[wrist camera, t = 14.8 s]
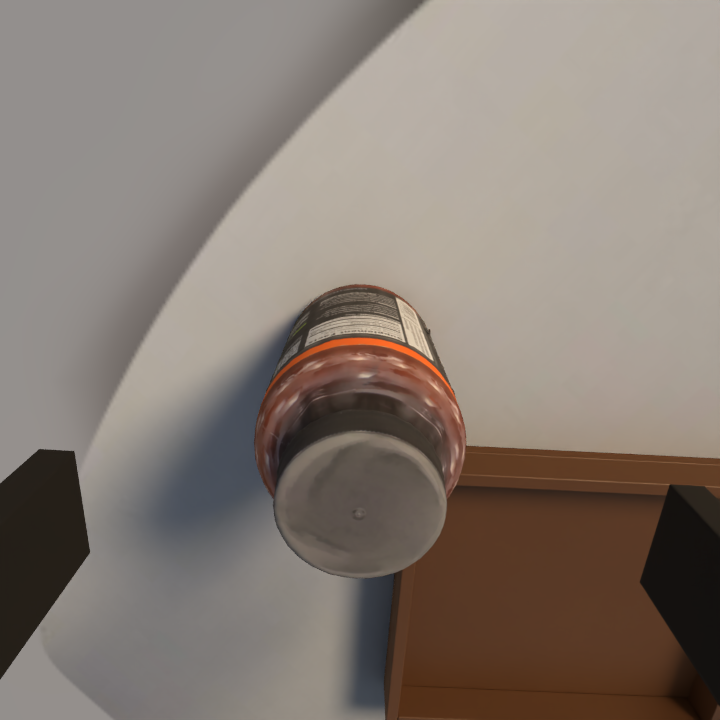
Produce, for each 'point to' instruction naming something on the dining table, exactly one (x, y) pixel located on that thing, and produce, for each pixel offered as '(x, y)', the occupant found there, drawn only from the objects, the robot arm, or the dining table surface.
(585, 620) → the walnut tray
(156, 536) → the dining table surface
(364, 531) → the supplement bottle
